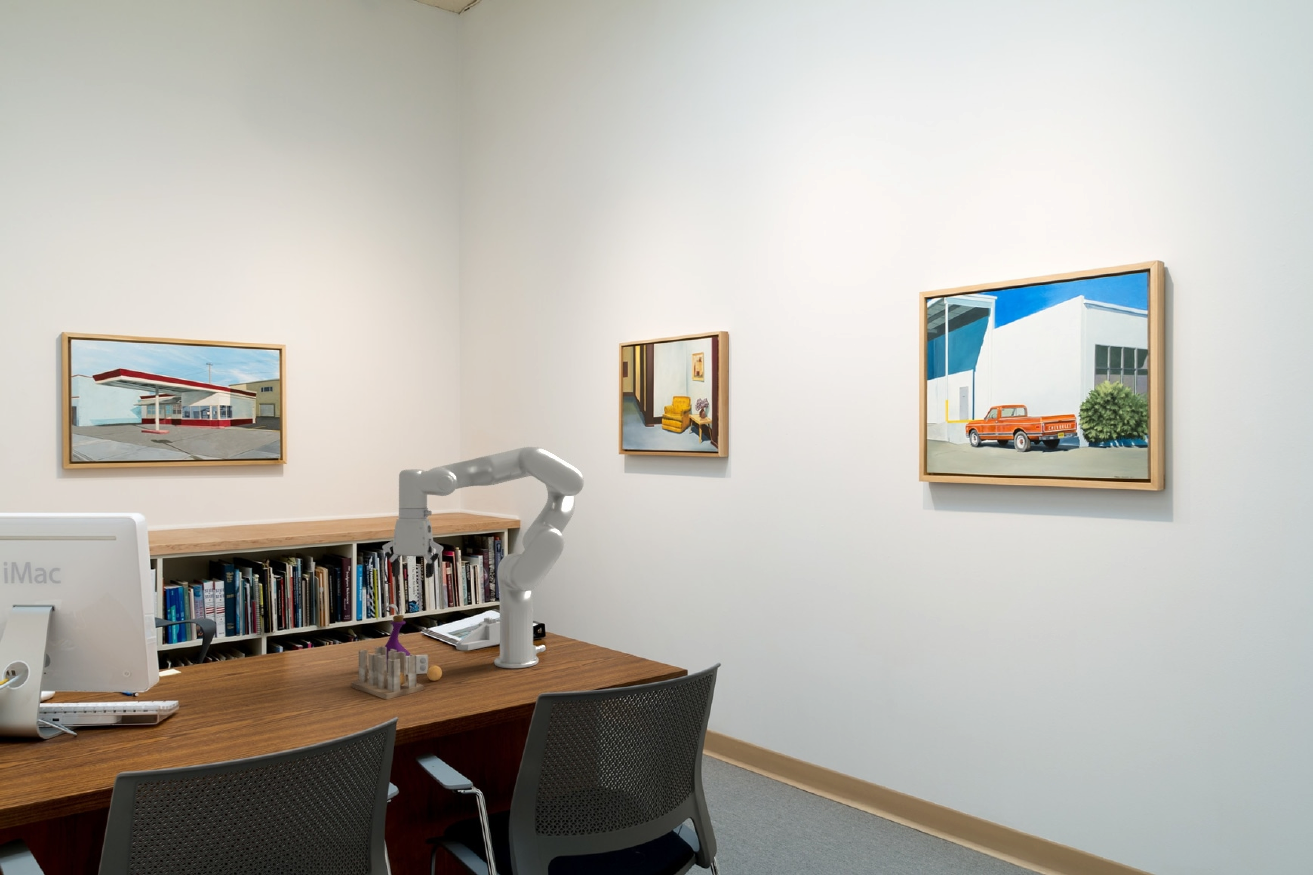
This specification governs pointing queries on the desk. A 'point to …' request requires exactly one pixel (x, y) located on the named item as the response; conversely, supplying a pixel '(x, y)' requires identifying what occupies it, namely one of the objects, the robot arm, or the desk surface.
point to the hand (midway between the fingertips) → (412, 576)
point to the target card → (419, 664)
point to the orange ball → (434, 673)
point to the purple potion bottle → (395, 634)
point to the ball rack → (378, 676)
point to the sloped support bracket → (481, 636)
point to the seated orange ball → (402, 678)
